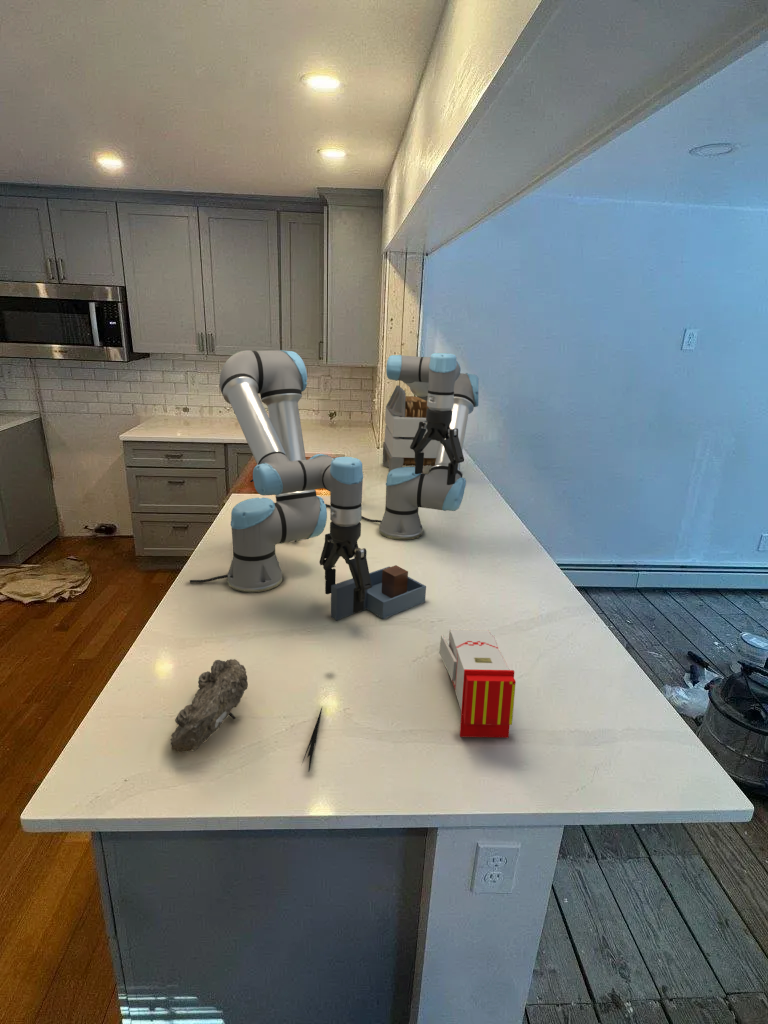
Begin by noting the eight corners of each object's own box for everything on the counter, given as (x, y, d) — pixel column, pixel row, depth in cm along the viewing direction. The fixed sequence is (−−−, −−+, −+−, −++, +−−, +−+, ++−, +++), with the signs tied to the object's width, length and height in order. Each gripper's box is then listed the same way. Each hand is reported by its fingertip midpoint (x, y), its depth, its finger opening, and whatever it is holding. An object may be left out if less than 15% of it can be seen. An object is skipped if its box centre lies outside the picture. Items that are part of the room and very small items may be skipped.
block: (381, 592, 157) (382, 569, 154) (394, 587, 160) (396, 565, 157) (393, 599, 153) (394, 576, 151) (406, 594, 156) (408, 571, 154)
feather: (331, 679, 122) (336, 673, 122) (307, 777, 96) (313, 769, 95) (324, 675, 122) (329, 669, 121) (298, 772, 95) (304, 764, 95)
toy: (489, 613, 130) (525, 677, 101) (485, 667, 133) (518, 744, 104) (437, 612, 130) (457, 676, 101) (434, 666, 133) (453, 743, 103)
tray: (316, 606, 149) (316, 576, 146) (388, 581, 165) (389, 553, 162) (351, 631, 139) (352, 599, 135) (425, 601, 154) (427, 572, 151)
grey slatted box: (381, 463, 289) (385, 382, 275) (444, 464, 292) (450, 384, 279) (389, 482, 257) (393, 392, 243) (459, 483, 261) (467, 394, 247)
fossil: (195, 660, 117) (247, 628, 112) (227, 691, 120) (279, 661, 115) (146, 746, 98) (206, 711, 93) (185, 779, 101) (245, 748, 96)
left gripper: (305, 510, 143) (305, 588, 151) (364, 540, 126) (361, 625, 134) (329, 505, 148) (329, 580, 155) (389, 533, 131) (385, 616, 139)
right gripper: (401, 403, 171) (397, 470, 178) (463, 416, 153) (456, 491, 161) (419, 401, 176) (414, 467, 183) (481, 414, 158) (473, 487, 165)
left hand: (343, 601), depth 145 cm, fingers open, 11 cm apart
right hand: (434, 478), depth 172 cm, fingers open, 13 cm apart
